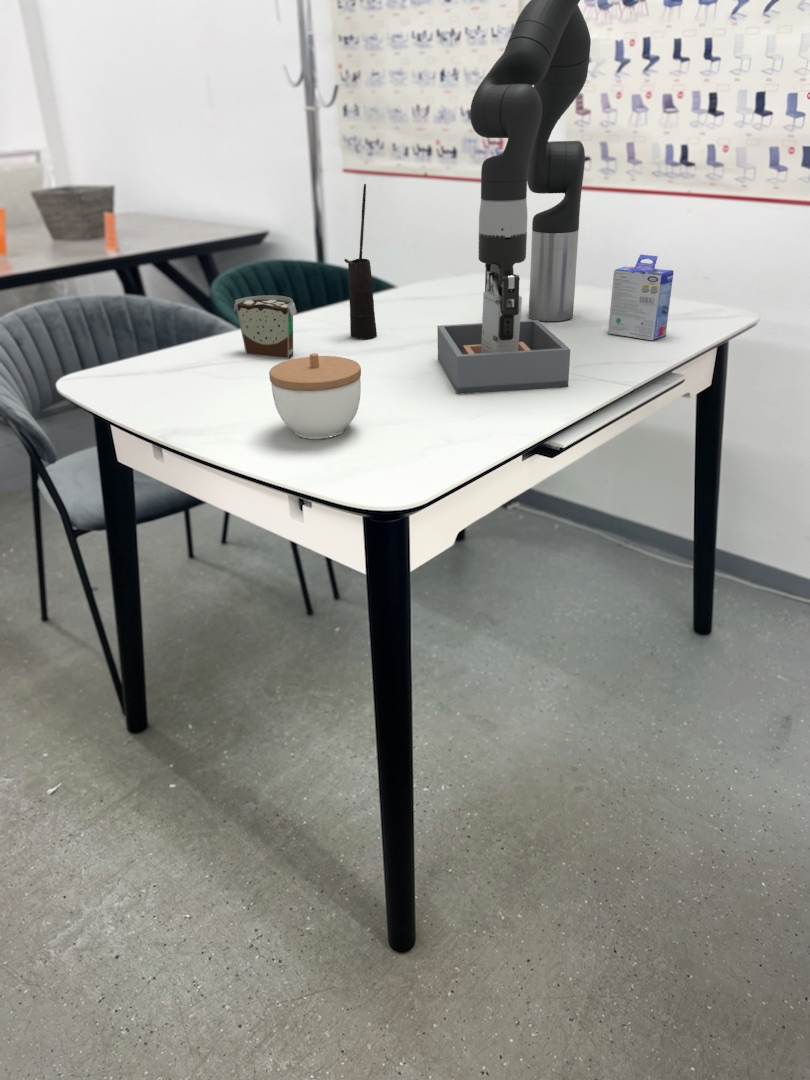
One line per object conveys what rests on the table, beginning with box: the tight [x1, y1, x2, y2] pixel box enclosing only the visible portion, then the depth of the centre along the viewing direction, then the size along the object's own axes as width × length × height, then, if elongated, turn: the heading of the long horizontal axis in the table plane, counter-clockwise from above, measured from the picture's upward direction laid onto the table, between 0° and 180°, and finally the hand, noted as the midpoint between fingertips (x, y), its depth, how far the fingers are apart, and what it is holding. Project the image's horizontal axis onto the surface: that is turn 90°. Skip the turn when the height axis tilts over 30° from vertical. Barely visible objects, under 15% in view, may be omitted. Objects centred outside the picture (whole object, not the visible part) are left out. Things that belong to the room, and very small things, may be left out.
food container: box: [233, 295, 298, 360], centre depth 153 cm, size 12×6×10 cm, turn 65°
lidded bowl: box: [268, 352, 362, 440], centre depth 116 cm, size 13×13×11 cm
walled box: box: [436, 319, 571, 395], centre depth 139 cm, size 20×18×6 cm
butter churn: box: [343, 183, 378, 340], centre depth 157 cm, size 9×10×28 cm
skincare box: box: [481, 291, 523, 353], centre depth 137 cm, size 6×4×12 cm
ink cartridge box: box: [607, 254, 674, 341], centre depth 155 cm, size 10×6×14 cm, turn 49°
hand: (500, 333), depth 137 cm, fingers open, 8 cm apart
